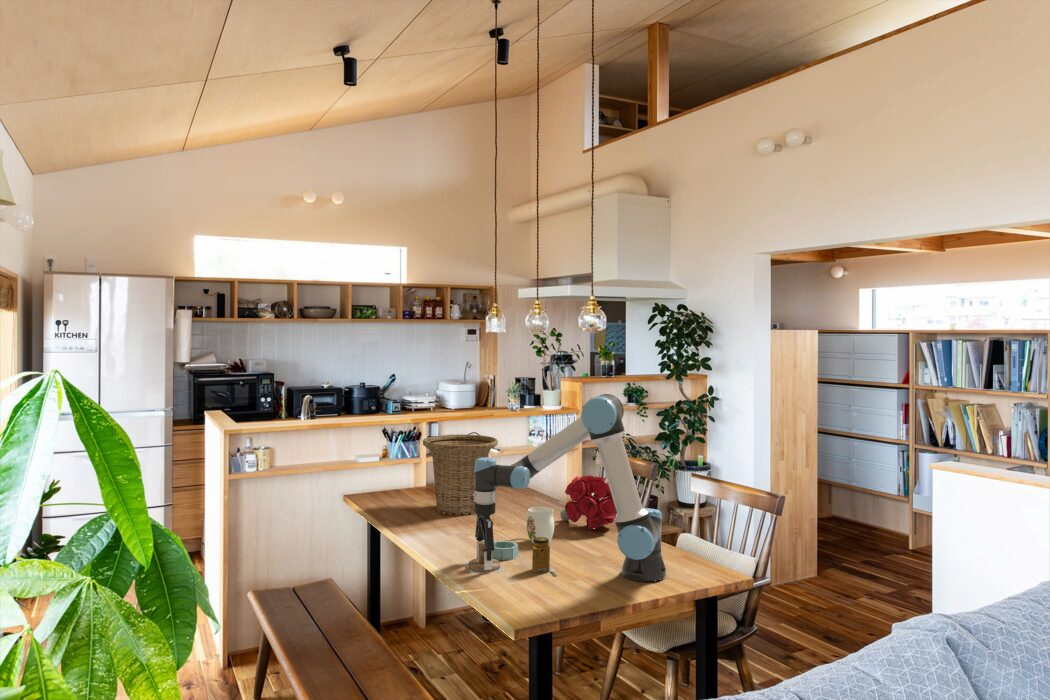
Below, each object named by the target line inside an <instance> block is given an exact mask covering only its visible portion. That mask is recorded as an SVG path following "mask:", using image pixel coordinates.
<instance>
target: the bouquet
mask: <svg viewBox="0 0 1050 700" xmlns="http://www.w3.org/2000/svg"><path fill="white" fill-rule="evenodd" d="M606 480H607V477H602V476H601V477H600V476H593V475H582V476H581V477H579V476H578V475H576V476H575V477H574V478H573V479H572V481H571V482H570V483H568V485H567V486H566V488H565V490H564V493H565V495H567V496H569V497H570V499H571V500H568V501H567V502H566V503H565V506H564V509H562V510H561V511H560V514H559V517H560V518H561V520H563V521H564V522H568V521H571V522H572V523H576V522H578V521H579V520H580V518H581V517H582V516H585V517H586V520H585V522H586V527H587V528H588V530H589V531H591V530H590V529H593V528H598V529H599V528H600V527H603V526H605V525H606V526H608V525H609V524H613V523H615V518H616V516H617V511H616V508H615V504H614V501H613V497H612V494H611V491H610V487H609V484H608V481H606ZM592 494H593V495H592Z"/></svg>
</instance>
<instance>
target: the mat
mask: <svg viewBox="0 0 1050 700" xmlns="http://www.w3.org/2000/svg"><path fill="white" fill-rule="evenodd" d="M463 564H464V566H465V567H466V568H467V570H468V572H469V573H470V575H477V574H489V573H501V572H506V571H505V569H504V568H503V566H502V565H501V564H500V568H499V569H498V570H496V571H492V572H476V571H472V570H470V569H469V562H464V563H463Z"/></svg>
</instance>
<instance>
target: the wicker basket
mask: <svg viewBox="0 0 1050 700" xmlns="http://www.w3.org/2000/svg"><path fill="white" fill-rule="evenodd" d="M498 443H499V442H498V439H497V438H495V437H493V436H489V435H479V434H442V435H434V436H428V437H426V438H424V439H423V440H422V445H423V446H424V447H425V448H426V449H429V450H430V452H431V456H432V464H433V465H432V468H433V477H434V479H433V480H434V481H433V482H434V491H435V492H434V493H435V501H436V511H437V512H438V513H441V514H443V515H445V514H446V515H449V516H453V515H455V516H458V515H459V516H461V515H463V516H468V515H469V514H470V515H472V514H473V515H476V514H475V513H474V503H475V501H474V496H473V493H475V492H474V488H475V485H474V470H475V461H476V459H478V458H484V457H489V453H490V451H491V450H492V449H494V448H495V447H496V446H498Z"/></svg>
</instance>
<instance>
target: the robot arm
mask: <svg viewBox="0 0 1050 700" xmlns="http://www.w3.org/2000/svg"><path fill="white" fill-rule="evenodd" d="M624 413H625V409H624V405H623V403H622V401H621V399H619V397H617V396H616V395H613V394H611V393H603V394H600V395H597V396H594V397H591V398H590V399H589V400H587V401H586V403H584V405H583V407H582V408H581V413H580V415H581V416H580V417H577V419H575V420H574V421H573V422H571V423H570V424H568V425H567V426H565V427H564V428H563V429H561V430H560V431H558V432H557V433H556V434H554V435H553V436H551V437H550V438H549V439H547V440H546V441H544V443H542V444H540V445H539V446H538V447H536V448H535V449H534V450H531V452H529V453H528V454H527V455H524V456H523V457H522V458H521V459H519V460H517V461H516V462H514V463H512V464H510V465H505V464H504V465H502V464H498V463H497V460H496V459H495V458H493V457H489V456H488V457H484V458H478V459H476V461H475V470H474V485H475V488H474V492H475V493H473V496H474V501H475V503H474V513H475V514H474V515H476V522H475V523H476V525H475V535H474V537H475V541H476V559H478V558H479V544H480V543H485V549H484V550H483V552H484V570H490V569H492V559H493V558H492V551H494V542H495V541H494V540H495V539H494V521H493V520H492V519H491V516H492V515H494V514H495V513H496V506H497V505H496V501H497V499H496V496H497V495H496V494H497V493H496V491H497V489H496V488H497V487H499V488H511V489H516V490H518V489H526V488H528V487H529V485H530V482H531V479H532V478H534V476H536V475H537V474H539V473H540V472H541V471H543V470H544V469H546V468H547V467H549V466H550V465H551V464H553V463H554V462H556V461H557V460H558V459H560V458H561V457H563V456H564V455H566V454H567V453H569V452H570V451H571V450H573V449H574V448H575V447H577V446H578V445H580V444H581V443H583V442H584V441H585V440H588V438H590V440H591V442H593V443H595V444H596V445H597V449H598V451H599V456H600V458H601V462H602V466H603V469H604V474H605V476H606V477H605V478H606V480H607V483H608V484H609V487H610V491H611V494H612V497H613V501H614V504H615V508H616V511H617V514H616V518H615V519H614V525H615V527H616V530H617V539H616V540H617V541H616V542H617V547H618V550H619V551H620V552H621V553H622V555H624V556H625V557H624V559H623V563H622V566H621V575H622V576H623V577H624V578H626V579H628V580H631V579H632V580H631V581H635V580H637V581H636V582H641V581H655V580H660V579H662V578H664V577H665V576H666V577H667V568H666V565H665V563H664V558H663V555H662V528H663V527H662V521H663V517H662V516H663V515H662V512H661V511H660V509H655V508H648V507H643V504H642V502H641V497H640V495H639V491H638V487H637V485H636V484H637V483H636V481H635V477H634V474H633V471H632V467H631V464H630V460H629V457H628V454H627V450H626V446H625V442H624V439H623V436H624V434H625V432H626V429H625V426H624V424H623V421H622V420H623V417H624ZM666 577H665V578H666ZM665 578H664V579H665ZM660 581H661V580H660ZM655 582H656V581H655Z"/></svg>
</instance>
